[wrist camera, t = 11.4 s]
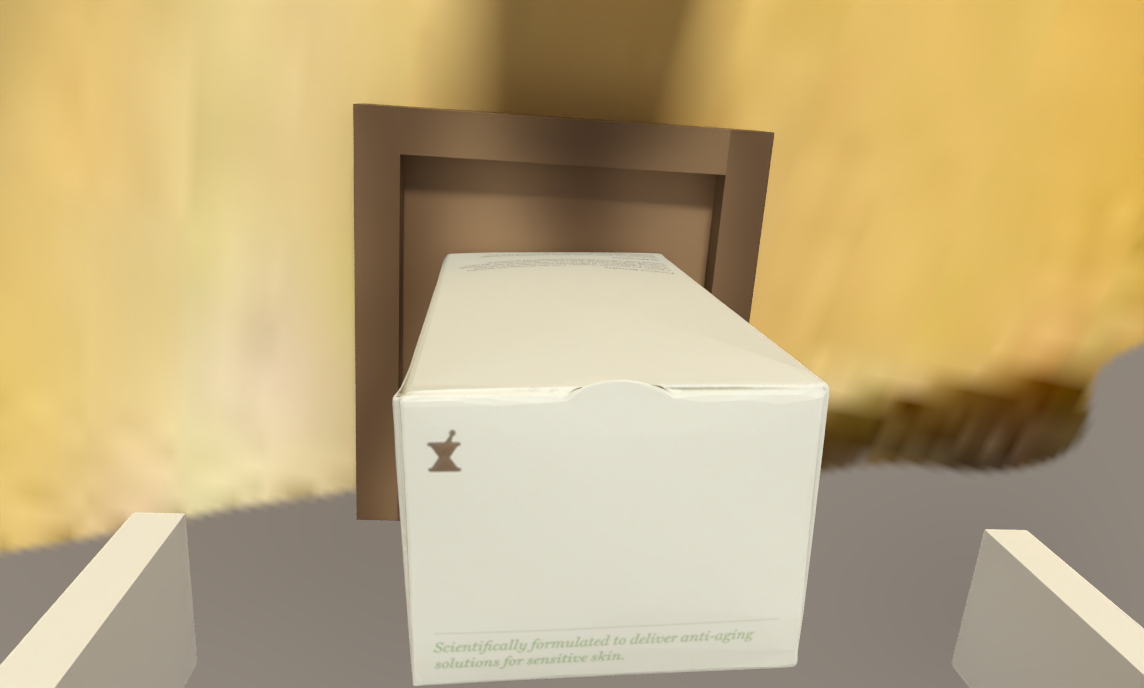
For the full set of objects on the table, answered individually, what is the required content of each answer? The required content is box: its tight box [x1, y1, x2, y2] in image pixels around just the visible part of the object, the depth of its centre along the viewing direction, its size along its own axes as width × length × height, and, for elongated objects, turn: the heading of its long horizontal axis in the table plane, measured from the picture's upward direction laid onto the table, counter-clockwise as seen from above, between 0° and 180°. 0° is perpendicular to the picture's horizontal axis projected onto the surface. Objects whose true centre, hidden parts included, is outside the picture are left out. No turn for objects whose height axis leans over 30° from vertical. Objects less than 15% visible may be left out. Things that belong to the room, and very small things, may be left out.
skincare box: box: [392, 252, 830, 686], centre depth 23 cm, size 8×7×16 cm
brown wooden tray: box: [353, 104, 774, 520], centre depth 30 cm, size 14×15×2 cm
